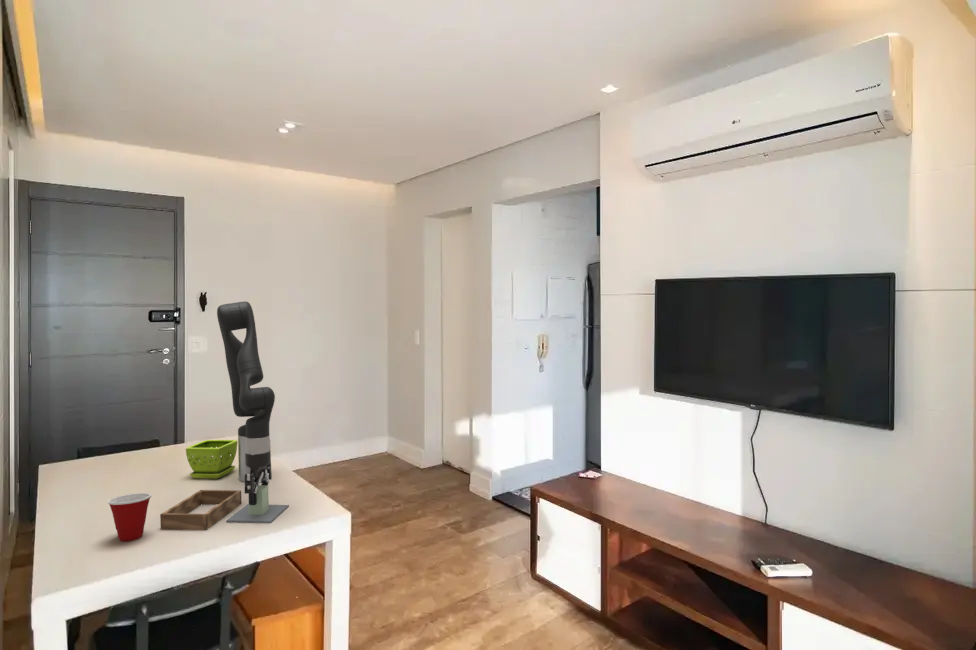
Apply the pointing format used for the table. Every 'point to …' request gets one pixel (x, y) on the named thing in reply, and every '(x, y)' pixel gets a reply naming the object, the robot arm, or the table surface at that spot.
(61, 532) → the table surface
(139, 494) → the plastic cup
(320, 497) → the table surface
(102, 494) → the table surface
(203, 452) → the flower pot
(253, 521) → the slate mat
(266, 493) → the sage block
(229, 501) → the wooden frame
